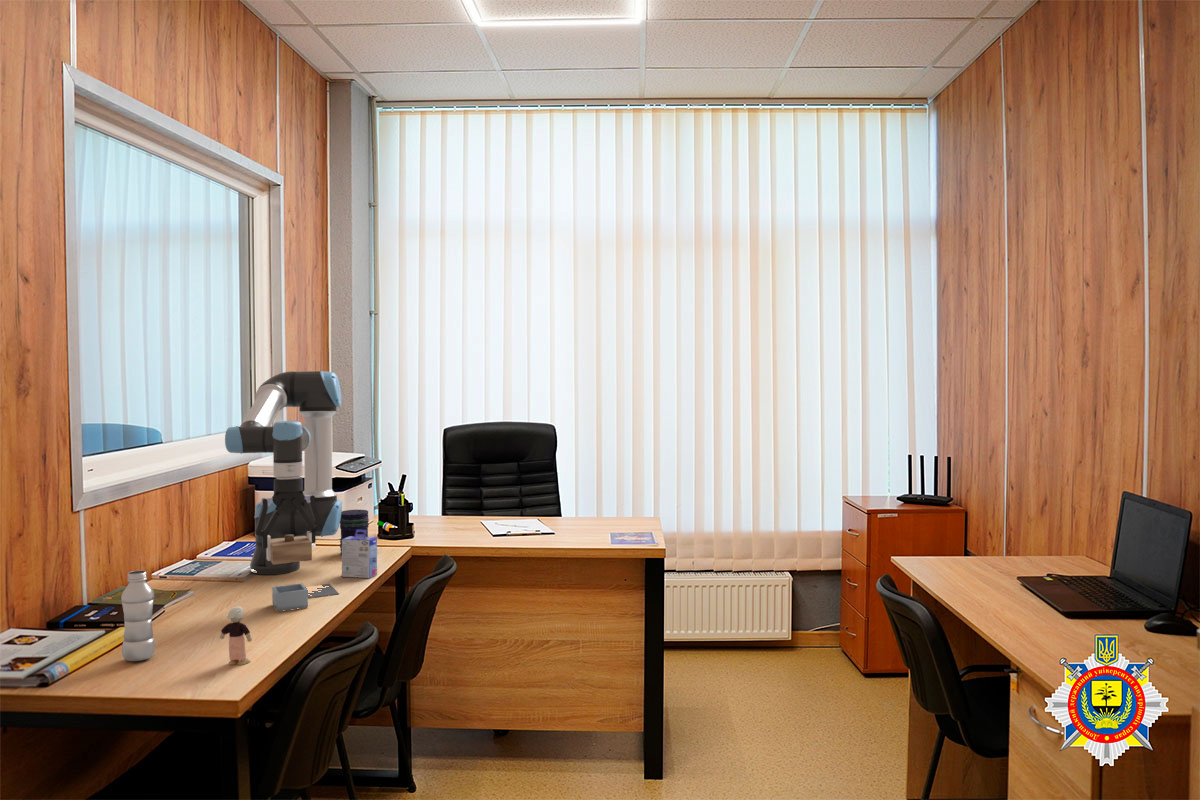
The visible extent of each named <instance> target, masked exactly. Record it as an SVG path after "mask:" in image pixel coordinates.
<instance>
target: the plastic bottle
mask: <svg viewBox="0 0 1200 800" xmlns="http://www.w3.org/2000/svg"><path fill="white" fill-rule="evenodd" d="M147 580H148V577H147V571H146V570H133V571H129V572H127V580H126V581H127V582H128V584H127V586H126V587H125V589H124V590H123V591H122V594H121V597H120V599H121V605H122V610H123V619H124V621H123V622H124V633H123V642H122V647H121V653H122V654H121V655H122V657H123V659H124V660H125V661H127V662H140V661H141V662H142V661H144V660H148V659H150V658H152V657H153V655H154V654H155V651H156V643H155V638H154V634H153V633H154V632H153V624H152V623H153V618H152V617H153V607H154V600H155V591H154V589H153V588H152V586H150V585H149V583H147Z"/></svg>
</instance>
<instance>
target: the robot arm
mask: <svg viewBox="0 0 1200 800" xmlns="http://www.w3.org/2000/svg"><path fill="white" fill-rule="evenodd" d="M254 397H255V400H254V402H253V404H252V406H251V408H250V409H249V411H248V412H247V414H246V416H245V418H244V419H243V421H242V423H241V425H240V426H237V425H236V426H230V427H228V428H226V431H225V434H224V435H225V436H224V445H225V449H226V451H227V452H228V453H230V454H240V455H241V454H262V453H263V454H265V453H267V454H268V453H269V454H270V453H272V454H273V457H272V459H273V461H272V462H273V464H272V465H273V474H272V475H273V477H274V479H273V494H272V495H273V496H272V497H268V498H267V497H266V498H265V497H262V498H261V501H260V502H258V503H257V504H256V505H255V508H254V516H253V518H254V533H255V534H254V535H255V536H254V537H255V538H254V539H255V549H254V551H253V555H252V558H251V561H250V564H249V569H250V568H251V569H254V570H256V571H257V574H256V575H260V576H261V575H262V576H263V575H264V576H267V575H270V576H271V575H282V574H287V573H291V572H294V571H297V570H299V569H300V568H301V567H300V566H301V565H300V563H301V562H292V563H283V564H274V565H273V564H272V562H271V539H276V538H285V535H290V534H292V535H294V537H297V536H306V537H307V538H308V539H309V540H310V541H311V542H312V544H315V543H316V542H317V541H316V540H317V539H316V538H317V537H328V536H334V535H335V534H337V532H338V530H339V529H340V519H341V512H342V511H343V502H342V500H341V499H337V498H338V495H337V493H336V492H335V491H334V490H333V446H332V445H333V440H332V439H333V435H332V432H333V431H332V429H333V427H332V426H333V424H332V423H333V421H332V419H333V417H334V416H335V415H336V413H337V408H339V407H341V406H342V404H343V403H342V391H341V384H340V381H339V377H338V375H337V374H336V373H335V372H333V371H325V370H324V371H323V370H321V371H315V370H314V371H284V372H281V373H278V374H275V375H273V376H272V377H270V378H268V379H267V380H266V381H264V382H263V383H261V384H260V386H259V387H258V389H257V390H256V392H255V396H254ZM289 407H290V408H291V407H293V408H299V410H298V411H299V414H300V415H301V416H302V417H303V418H304V420H303V421H304V423H303V424H304V426H303V424H302V422H300V421H298V420H282V421H276V422H274V420H275V419H276V417H277V415H278V413H279V411H281V410H283V409H285V408H289ZM272 424H273V425H272ZM303 451H304V452H303ZM303 453H304V457H303ZM303 458H304V459H303ZM303 462H304V465H303ZM303 466H304V479H303V477H302V476H303ZM303 485H304V486H303Z"/></svg>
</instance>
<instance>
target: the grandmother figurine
mask: <svg viewBox="0 0 1200 800" xmlns="http://www.w3.org/2000/svg"><path fill="white" fill-rule="evenodd" d="M243 614H244V609H243V608H242V606H234V607H231V609H230V610H229V611H228V613H227V615H226V617H227V619H228V620H230V621H231V622H229V623H227V624H226V625H225V626H224V627H222V629H221V630H220V635H219V637H218V638H219V639H220V640H223V639H225V636H226V634H227V635H228V634H229V635H228V636H229V637H228V639H229V640H228V652H229V660H230V661H228V665H229V666H231V665H233V666H234V665H236V664H237V665H239V666H243V665H244V666H245V665H246V664H249V663H250V662H251V660H250V659H249V658H248V657H247V653H246V641H247V642H250V643H251V642H252V641H253V638H252V634H251V631H250V629H249V628H248V626H247V625H246V624H245V623H243V622H241V621H242V620H243V616H244V615H243ZM245 638H246V640H245Z"/></svg>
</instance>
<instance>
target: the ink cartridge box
mask: <svg viewBox="0 0 1200 800" xmlns="http://www.w3.org/2000/svg"><path fill="white" fill-rule="evenodd" d="M366 531H367V530H358V529H357V530H356V533H355V536H354V537H352V536H350V537H346V538H344V539H342V556H341V577H343V578H357V577H358V578H360V579H370V578H372V577H373V578H374V577H376V576H378V538H377V536H368V537H366ZM358 532H364V534H357V533H358Z"/></svg>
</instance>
